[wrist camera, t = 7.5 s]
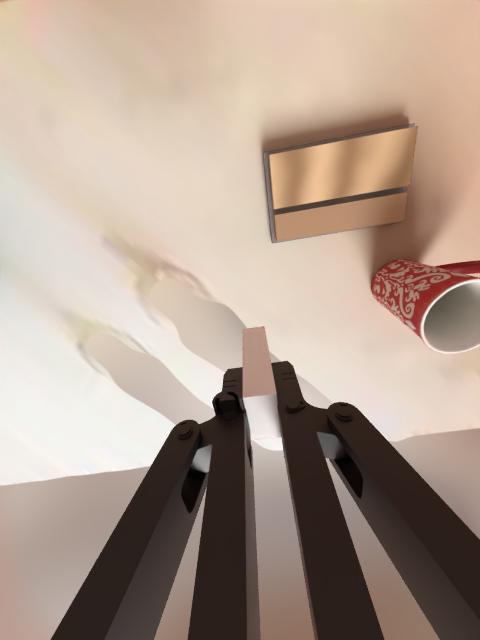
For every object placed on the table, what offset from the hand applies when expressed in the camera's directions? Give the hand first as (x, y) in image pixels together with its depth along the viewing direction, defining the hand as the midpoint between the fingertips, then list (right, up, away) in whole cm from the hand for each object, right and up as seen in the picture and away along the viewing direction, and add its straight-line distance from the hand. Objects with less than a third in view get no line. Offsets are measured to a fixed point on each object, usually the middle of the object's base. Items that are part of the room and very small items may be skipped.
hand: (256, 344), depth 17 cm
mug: (+25, +9, +21) cm, 33 cm away
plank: (+11, +21, +14) cm, 27 cm away
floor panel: (+12, +19, +16) cm, 27 cm away
